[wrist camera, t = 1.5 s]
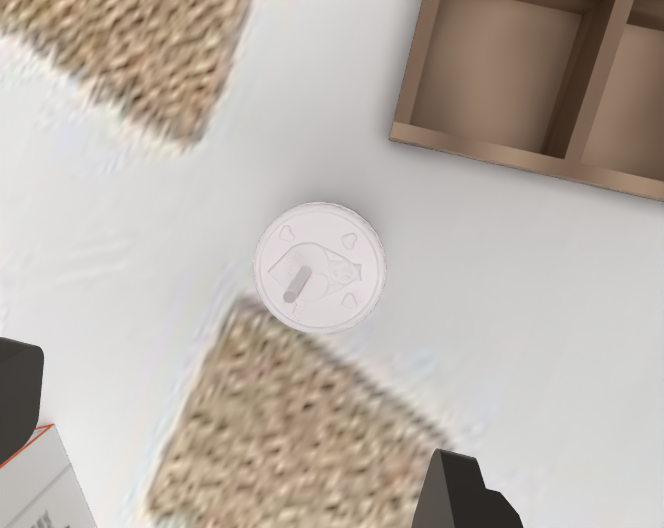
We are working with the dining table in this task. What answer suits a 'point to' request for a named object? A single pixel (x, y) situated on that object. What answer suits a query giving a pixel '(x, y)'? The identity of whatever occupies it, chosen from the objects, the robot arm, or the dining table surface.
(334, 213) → the smoothie
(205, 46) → the dining table surface
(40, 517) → the white and orange box
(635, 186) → the bottle caddy
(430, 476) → the robot arm
